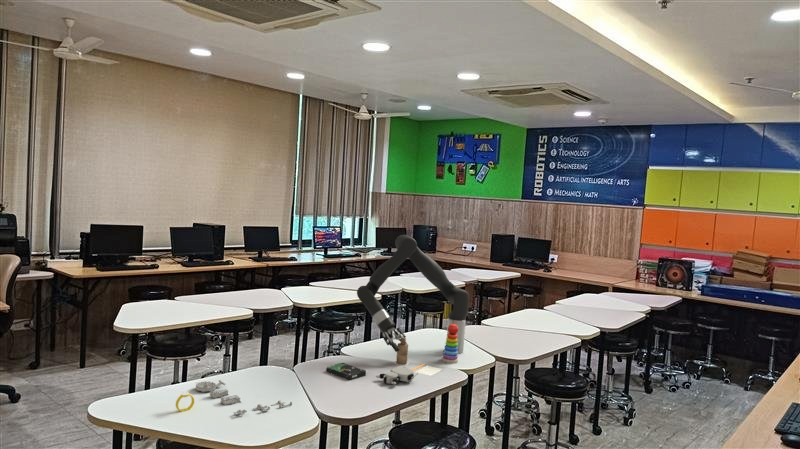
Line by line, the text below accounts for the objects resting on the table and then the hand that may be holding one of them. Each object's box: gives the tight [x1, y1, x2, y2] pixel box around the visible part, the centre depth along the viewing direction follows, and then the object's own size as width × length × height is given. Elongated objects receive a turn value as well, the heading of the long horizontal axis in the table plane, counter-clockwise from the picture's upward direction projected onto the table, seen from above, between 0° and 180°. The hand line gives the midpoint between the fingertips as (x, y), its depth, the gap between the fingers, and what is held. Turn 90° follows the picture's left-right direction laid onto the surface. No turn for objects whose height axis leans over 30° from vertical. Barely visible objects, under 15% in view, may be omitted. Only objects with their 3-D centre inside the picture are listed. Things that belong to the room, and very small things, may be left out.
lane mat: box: [393, 361, 443, 377], centre depth 248 cm, size 15×25×1 cm, turn 60°
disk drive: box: [325, 362, 367, 381], centre depth 234 cm, size 10×3×15 cm
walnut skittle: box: [395, 337, 409, 366], centre depth 252 cm, size 5×5×12 cm
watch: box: [175, 391, 195, 412], centre depth 184 cm, size 6×3×6 cm, turn 136°
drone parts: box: [195, 379, 293, 416], centre depth 199 cm, size 23×35×3 cm, turn 45°
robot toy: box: [376, 365, 419, 385], centre depth 229 cm, size 12×4×15 cm
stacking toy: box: [441, 324, 459, 364], centre depth 262 cm, size 8×8×19 cm
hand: (402, 349), depth 252 cm, fingers open, 8 cm apart
